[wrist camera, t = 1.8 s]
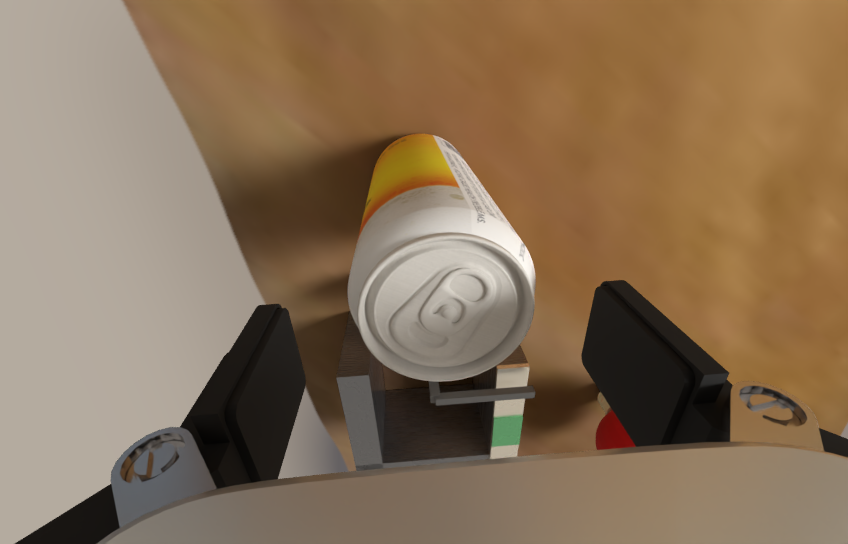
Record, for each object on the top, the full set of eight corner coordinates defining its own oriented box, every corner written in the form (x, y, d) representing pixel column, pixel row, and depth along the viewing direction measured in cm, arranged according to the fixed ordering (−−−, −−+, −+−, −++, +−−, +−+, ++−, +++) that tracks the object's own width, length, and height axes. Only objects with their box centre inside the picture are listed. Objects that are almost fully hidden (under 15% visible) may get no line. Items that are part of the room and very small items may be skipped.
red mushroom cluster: (548, 388, 34) (599, 497, 26) (609, 342, 32) (689, 445, 23) (604, 427, 38) (666, 535, 29) (663, 388, 35) (750, 493, 27)
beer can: (356, 194, 24) (307, 345, 11) (406, 110, 22) (418, 176, 9) (431, 239, 26) (465, 412, 13) (484, 166, 24) (591, 289, 11)
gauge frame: (349, 311, 29) (335, 382, 22) (500, 300, 29) (529, 367, 23) (366, 407, 34) (358, 486, 28) (493, 397, 34) (514, 473, 28)
